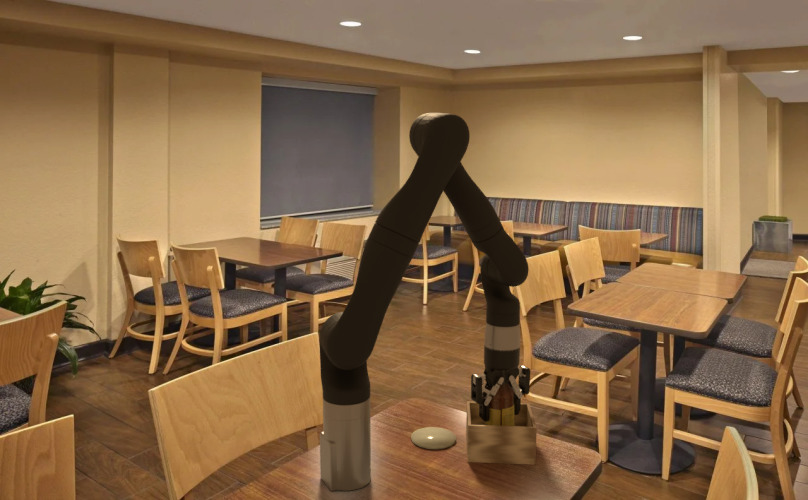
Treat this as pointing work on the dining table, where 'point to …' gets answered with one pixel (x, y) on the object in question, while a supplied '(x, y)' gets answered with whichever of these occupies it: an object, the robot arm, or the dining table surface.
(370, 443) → the robot arm
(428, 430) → the saucer
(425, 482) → the dining table surface
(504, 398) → the sauce bottle
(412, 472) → the dining table surface
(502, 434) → the caddy
